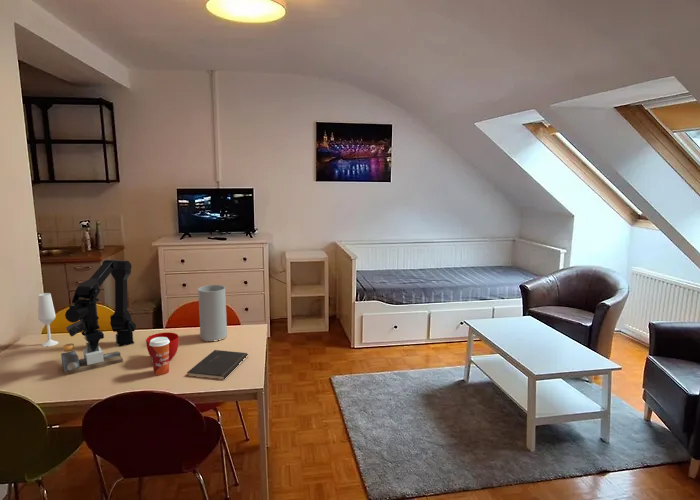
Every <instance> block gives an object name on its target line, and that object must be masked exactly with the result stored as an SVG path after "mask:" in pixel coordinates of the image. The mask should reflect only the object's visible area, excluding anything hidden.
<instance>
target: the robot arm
mask: <svg viewBox="0 0 700 500" xmlns="http://www.w3.org/2000/svg"><path fill="white" fill-rule="evenodd" d="M131 273H132V262H131V261H129V260H118V259H117V260H116V259H105V260H103V261H102V264H101V265H100V266H99V268H97V270H95V272H94V274H93V275H91V277H90V278H89V279H88V280H84V281H83V282H81V283H80V284H78V286H77V287H76V289H75V291H74V294H73V297H72V301H71V305H69V308H68V309H67V310H66V311H65V314H64V317H65V319H66V321H68V322H70V323H71V324H70V325H68V326H66V327H65V329H66V331H67V332H68V334H69V336H70V337H75V335H77V334H79V333H81V335H82V336H83V338H84V340H85V341H86V342H87V343H88V342H89V343H90V347H91V350H92V352H93V351H95V350H96V348H97V345H99V342H100V341H101V340H103V339H104V338H105V335H104V332H103V331H102V330H101V329H100V324H99V318H100V317H99V315H98V309H97V307H98V306H97V302H99V301H100V299H99V298H98V295H99V294H100V292H101V286H102V284H104V282H105V281H106V280H107V278H108V277H109V276H110V274H111V276H112V278H113V279H114V304H115V305H114V308H115V309H114V310H115V311H114V313H112V314H110V316H109V317H110V324H109V325H110V328H111V329H112V332H113V333H116V334H115V343H116V344H117V345H118V347H124V346H127V345H133V344H135V341H134V335H133V333H134V332H135V331H136V330H137V329H136V328H137V324H135V322H134V321H132V315H131V313H130V312H129V310H128V278H129V277H130V275H131Z"/></svg>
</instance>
